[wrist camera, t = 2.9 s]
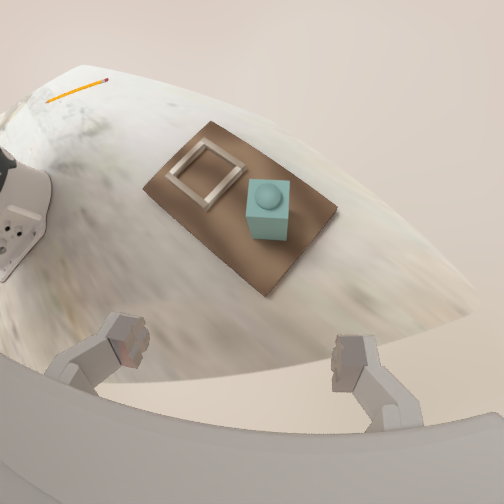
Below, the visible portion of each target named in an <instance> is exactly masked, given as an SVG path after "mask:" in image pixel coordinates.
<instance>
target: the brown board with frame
mask: <svg viewBox="0 0 504 504" xmlns="http://www.w3.org/2000/svg"><path fill="white" fill-rule="evenodd" d="M249 179H264V180H284V181H290V189H289V211H288V227H287V240H286V241H283V240H267V239H253V238H252V235H251V232H250V229H249V226H248V223H247V219H246V207H247V197H248V187H249ZM143 190H144V191H145V192H146V193H147V194H148V195H149V196H150V197H151V198H152V199H153V200H155V201H156V202H157V203H158V204H159V205H160V206H161V207H162V208H163V209H165V210H166V211H167V212H168V213H169V214H170V215H171V216H172V217H174V218H175V219H176V220H177V221H178V222H179V223H180V224H181V225H183V226H184V227H185V228H186V229H187V230H188V231H189V232H190V233H192V234H193V235H194V236H195V237H196V238H197V239H198V240H200V241H201V242H202V243H203V244H204V245H205V246H206V247H208V248H209V249H210V250H211V251H212V252H213V253H214V254H216V255H217V256H218V257H219V258H220V259H221V260H223V261H224V262H225V263H226V264H227V265H228V266H229V267H231V268H232V269H233V270H234V271H235V272H236V273H238V274H239V275H240V276H241V277H242V278H243V279H245V280H246V281H247V282H248V283H249V284H250V285H252V286H253V287H254V288H255V289H256V290H258V291H259V292H260V293H261V294H262V295H263V296H266V295H267V294H268V293H269V292H270V291H271V289H272V288H273V287H274V286H275V285H276V284H277V282H278V281H279V280H280V279H281V278H282V276H283V275H284V274H285V273H286V272H287V271H288V269H289V268H290V267H291V266H292V265H293V263H294V262H295V261H296V260H297V259H298V257H299V256H300V255H301V254H302V253H303V251H304V250H305V249H306V248H307V246H308V245H309V244H310V243H311V242H312V240H313V239H314V238H315V237H316V235H317V234H318V233H319V232H320V231H321V229H322V228H323V227H324V226H325V224H326V223H327V222H328V221H329V219H330V218H331V217H332V216H333V214H334V213H335V212H336V210H337V208H338V207H337V206H336V205H335V204H333V203H332V202H331V201H329V200H328V199H327V198H325V197H324V196H323V195H321V194H320V193H318V192H317V191H316V190H314V189H313V188H312V187H310V186H309V185H308V184H306V183H305V182H303V181H302V180H301V179H299V178H298V177H296V176H295V175H294V174H292V173H291V172H289V171H288V170H286V169H285V168H283V167H282V166H281V165H279V164H278V163H276V162H275V161H273V160H272V159H270V158H269V157H267V156H266V155H264V154H263V153H261V152H260V151H258V150H257V149H255V148H254V147H252V146H251V145H249V144H248V143H246V142H244V141H243V140H241V139H240V138H238V137H237V136H235V135H233V134H232V133H230V132H229V131H227V130H225V129H224V128H222V127H220V126H219V125H217V124H215V123H214V122H212V121H210V122H209V123H208V124H207V125H206V126H205V127H204V128H202V129H201V130H200V131H199V132H198V133H197V134H196V135H195V136H194V137H193V138H192V139H191V140H190V141H189V142H188V143H187V144H186V145H184V146H183V147H182V148H181V149H180V150H179V151H178V152H177V153H176V154H175V155H174V156H173V157H172V158H171V159H170V160H169V161H168V162H167V163H166V164H165V165H164V166H163V167H162V168H161V170H160V171H159V172H158V173H157V174H156V175H155V176H154V177H153V178H152V179H151V180H150V181H149V182H148V183H147V184H146V185H145V186H144V188H143Z"/></svg>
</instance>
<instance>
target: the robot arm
mask: <svg viewBox="0 0 504 504" xmlns="http://www.w3.org/2000/svg"><path fill="white" fill-rule="evenodd" d="M50 198H51V180H50V177H49V175H48V174H47V173H46V172H45V171H42V170H38V169H34V168H31V167H29V166H26V165H24V164H22V163H20V162H18V161H17V160H15V158H14V157H13V156H12V155H11V154H10V153H9V152H8V151H6V150H5V149H4V148H2V147H1V146H0V281H1V282H4V281H5V280H6V278H7V277H8V276H9V275H10V273H11V272H12V271H13V270H14V268H15V267H16V266H17V265H18V264H19V262H20V261H21V260H22V259H23V258H24V256H25V255H26V254H27V253H28V252H29V251H30V249H31V248H32V247H33V246H34V245H35V244H36V243H37V242H38V240H39V239H40V238H41V237H42V236H43V235H44V233H45V229H46V214H47V210H48V206H49V203H50ZM144 325H145V320H144V318H143V317H140V316H135V315H130V314H125V313H119V312H114V311H113V312H112V313H110V315H109V316H108V318H107V319H106V321H105V322H104V324H103V325H102V327H101V328H100V330H99V331H98V333H97V334H96V335H92V336H90V337H89V338H87V339H85V340H83V341H81V342H80V343H78V344H76V345H74V346H73V347H71V348H69V349H67V350H66V351H64V352H62V353H60V354H59V355H57V356H55V358H54V359H53V361H52V362H51V364H50V365H49V367H48V369H47V370H46V372H45V373H44V375H43V374H41V373H39V372H37V371H35V370H33V369H31V368H29V367H26V366H24V365H22V364H20V363H19V362H17V361H15V360H13V359H11V358H9V357H7V356H5V355H4V354H2V353H0V504H504V418H503V417H502V416H501V415H499V414H498V413H496V412H490V413H486V414H482V415H478V416H474V417H470V418H466V419H462V420H457V421H452V422H448V423H442V424H437V425H431V426H425V427H424V423H423V418H422V413H421V408H420V404H419V401H418V400H417V399H416V398H415V397H414V396H413V395H412V394H411V392H409V391H408V390H407V388H405V387H404V385H403V384H402V383H401V382H400V381H399V380H398V379H396V377H395V376H394V375H393V374H392V373H391V372H390V371H389V370H388V369H387V368H385V366H381V364H380V359H379V354H378V349H377V345H376V340H375V337H374V335H337V337H336V341H335V342H336V347H335V348H333V352H332V359H331V370H332V371H333V372H334V374H333V377H332V390H333V392H353V393H352V394H353V395H354V396H355V398H356V399H357V401H358V402H359V403H360V405H361V406H362V407H363V409H364V410H365V412H366V413H367V415H368V416H369V417H370V419H371V420H372V423H371V424H370V426H369V427H368V428H367V430H366V431H365V433H352V434H297V433H279V432H265V431H255V430H246V429H238V428H230V427H223V426H217V425H210V424H204V423H199V422H194V421H188V420H183V419H179V418H174V417H169V416H165V415H161V414H157V413H153V412H149V411H145V410H141V409H138V408H134V407H130V406H127V405H124V404H120V403H117V402H114V401H111V400H108V399H105V398H102V397H99V395H98V394H97V392H96V391H95V390H94V387H96V386H97V385H98V384H100V383H101V382H102V381H103V380H105V379H106V378H107V377H108V376H110V375H111V374H112V373H113V372H115V371H116V370H117V369H118V368H120V367H121V365H122V366H127V367H132V368H136V369H137V368H138V366H139V364H140V362H141V360H142V358H143V357H142V353H143V352H144V351H146V350H147V348H148V345H149V340H150V337H149V332H148V330H147V329H146V328H145V327H144Z"/></svg>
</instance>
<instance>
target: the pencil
mask: <svg viewBox="0 0 504 504" xmlns="http://www.w3.org/2000/svg"><path fill="white" fill-rule="evenodd" d="M106 81H108V78H106V79H103V80H100V81H97V82H94V83H91V84H88V85H86V86H83V87H80V88H77V89H75V90H72V91H69V92H67V93H64V94H62V95H59V96H57V97H55V98H52V99H50V100H48V101H47V102H46V103H49V102H52V101H54V100H56V99H59V98H61V97H64V96H66V95H69V94H72V93H74V92H77V91H80V90H82V89H85V88H88V87H91V86H94V85H97V84H100V83H103V82H106Z"/></svg>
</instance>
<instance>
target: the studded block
mask: <svg viewBox="0 0 504 504" xmlns="http://www.w3.org/2000/svg"><path fill="white" fill-rule="evenodd" d="M289 189H290V181H284V180H264V179H249V187H248V197H247V207H246V219H247V223H248V226H249V229H250V232H251V235H252V238H253V239H267V240H283V241H286V240H287V227H288V211H289Z"/></svg>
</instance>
